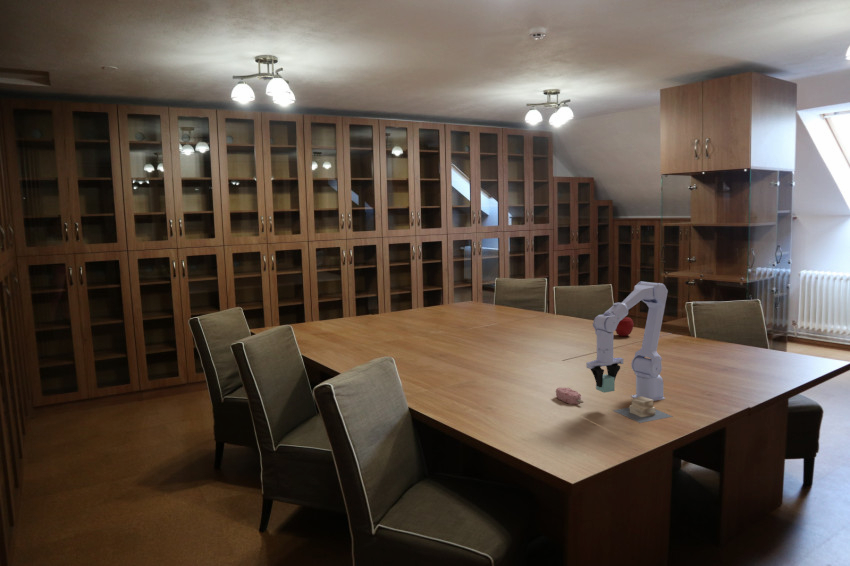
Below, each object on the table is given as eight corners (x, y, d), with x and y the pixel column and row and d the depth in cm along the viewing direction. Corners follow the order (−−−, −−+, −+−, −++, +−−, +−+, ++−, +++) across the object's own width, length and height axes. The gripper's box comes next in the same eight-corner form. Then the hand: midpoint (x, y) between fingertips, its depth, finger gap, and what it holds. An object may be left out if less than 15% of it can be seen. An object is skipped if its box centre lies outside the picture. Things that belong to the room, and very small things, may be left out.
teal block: (606, 387, 215) (606, 374, 214) (614, 391, 211) (614, 377, 210) (596, 389, 213) (596, 375, 213) (604, 392, 209) (604, 378, 209)
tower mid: (641, 403, 209) (641, 396, 209) (653, 406, 205) (653, 399, 205) (631, 405, 207) (631, 399, 207) (643, 409, 203) (643, 402, 202)
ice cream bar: (574, 398, 215) (552, 387, 228) (574, 409, 215) (552, 397, 229) (589, 395, 217) (566, 384, 230) (589, 406, 217) (566, 395, 231)
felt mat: (644, 405, 215) (644, 404, 215) (673, 417, 202) (673, 416, 202) (612, 411, 210) (612, 410, 210) (640, 423, 197) (640, 422, 197)
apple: (630, 338, 326) (630, 317, 324) (611, 337, 332) (611, 316, 330) (635, 334, 335) (635, 314, 334) (616, 333, 341) (616, 313, 339)
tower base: (643, 409, 210) (643, 402, 210) (655, 414, 205) (655, 407, 204) (629, 412, 208) (629, 405, 208) (641, 417, 202) (641, 410, 202)
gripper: (614, 344, 217) (614, 380, 218) (581, 348, 212) (581, 385, 213) (627, 347, 210) (627, 384, 212) (593, 352, 205) (593, 390, 207)
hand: (605, 385), depth 212 cm, fingers closed on teal block, 4 cm apart
